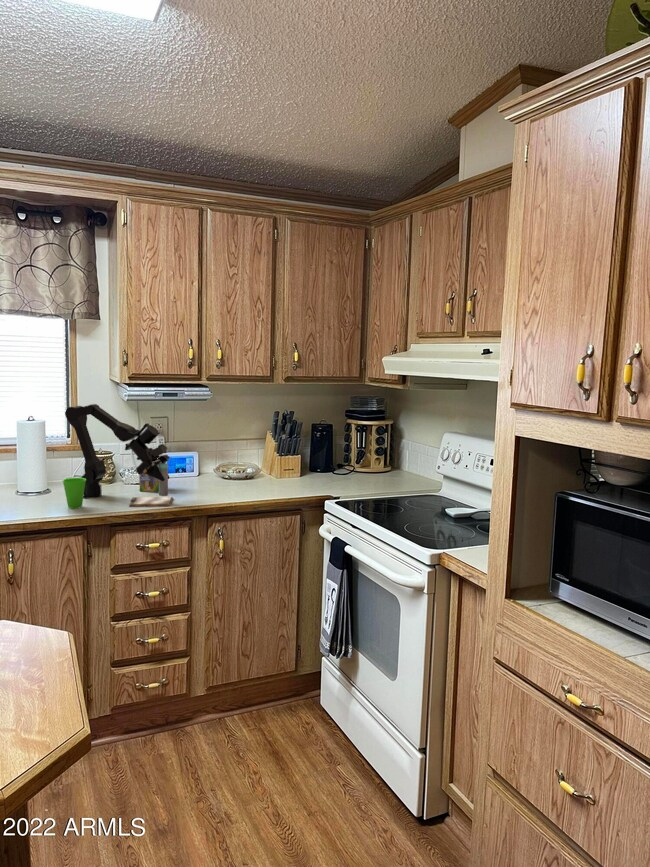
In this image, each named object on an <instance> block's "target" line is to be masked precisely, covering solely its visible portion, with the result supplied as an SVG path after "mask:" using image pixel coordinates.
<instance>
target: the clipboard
mask: <svg viewBox="0 0 650 867" xmlns="http://www.w3.org/2000/svg"><path fill="white" fill-rule="evenodd" d="M172 502H173V496H141V497H140V496H139V497H138V496H137V497H135V496H133V497H131V499H130V503H129V506H128V507H129V508H131V507H133V508H135V507H142V508H143V507H144V506H145V507H146V508H147V507H171V505H172ZM134 506H135V507H134Z"/></svg>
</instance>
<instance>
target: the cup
mask: <svg viewBox="0 0 650 867" xmlns="http://www.w3.org/2000/svg"><path fill="white" fill-rule="evenodd" d="M61 482H62V483H63V488H64V492H65V497H66V503H67V507H68V508H69V509H80V508H82V507H81V506H83V501H84V498H83V496H84V489H85V482H86V479H85V478H81V477H68V478H64V479H62V481H61ZM79 507H80V508H79Z"/></svg>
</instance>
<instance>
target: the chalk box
mask: <svg viewBox="0 0 650 867" xmlns="http://www.w3.org/2000/svg"><path fill="white" fill-rule="evenodd" d="M146 472H147V471H146V469H145V470H144V471H143V474H140V475H139V474H138V478H139V492H151V493H159V479H157V478H154V477H152V476H149V475H147V474H145V473H146Z"/></svg>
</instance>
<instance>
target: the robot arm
mask: <svg viewBox="0 0 650 867" xmlns="http://www.w3.org/2000/svg"><path fill="white" fill-rule="evenodd" d="M64 415H65V418H66V420H67V421H68V423H69V424H70V425H71V426H72V427H73V429H74V430H75V435H76V437H77V441H78V443H79V445H80V446H79V447H80V449H81V451H82V455H83V458H84V466H83V469H84V474H83V475H82V476H81V477H80V478H85V479H86V482H85V489H84V496H83V499H86V498H87V499H89V498H90V499H91V498H92V497H99V496H100V497H101V495H102V491H103V490H102V487H103V486H102V484H101V481H103V479H104V477H105V476H106V474H107V470H106V469H107V466H106V465H105V460H104V459H100V458H99V457H98V455H97V454H96V450H95V447H94V444H93V441H92V438H91V435H90V433H89V432H90V431H89V430H88V426H87V424H88V423H87V422H88V416H92V417H94V418H95V419H96V420H98V422H101V423H102V424H103V425H104V426H106V427H108V428H109V429H111V431H112V432H113V434H114V436H115V437H117V439H118V440H119V441H120V442H123V443H125V442H128V441H129V442H128V443H125V448H124V450H125V451H132V452H133V454H135V456H136V457H137V458H136V460H137V461H140V462H141V463H139V465H138V466H136V468H135V472H136V473H137V474H138V476H139V475H140V474H143V471H144V470H145V469H146V471H147V472H146V473H145V474H147V475H149V476H152V477H154V478H157V479H159V480H161V481H164V480H165V479H164V477H163V476H162V474H161V473H160V471H159V464H160V463H167V462H168V461H169V460H170V459H171V457H170V456H169V455H168V454H166V453H168V451H167V450H168V447H167V446H166V445H165V444H164V443H161V444H159V445H158V446H157V447H156V448H153V447H150V448H149V447H148V445H150V444H151V443H152V442H153V441H154V440H155V439H156V438H157V437H158V436H159V435H160V432H159V430H158V429H157V428H156V427H154V426H153V425H151V424H150V423H145V424H144V425H143V426H142V428H141V429H136V428H135V427H134V426H132V425H129V423H124V422H122V421H120V420H118V419H117V418H115V417H114V416H113V415H111V414H110V413H109V412H107V411H106V410H105V409H103V408H102V407H100V405H98V404H97V403H91V404H88V405H84V406H82V405H76V406H75V405H74V406H69V407H67V408H66V409H65V412H64ZM169 479H170V475H169V474H168V480H169ZM100 497H99V498H100Z"/></svg>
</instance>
